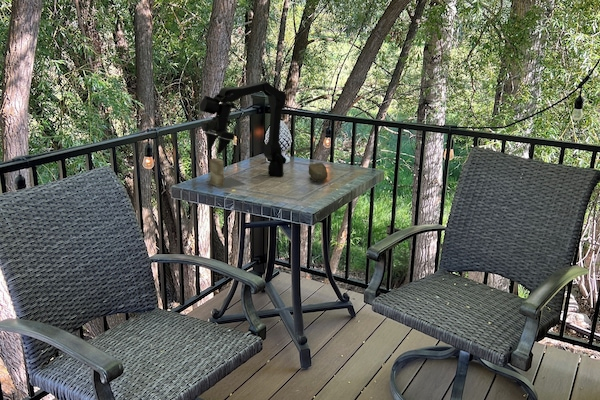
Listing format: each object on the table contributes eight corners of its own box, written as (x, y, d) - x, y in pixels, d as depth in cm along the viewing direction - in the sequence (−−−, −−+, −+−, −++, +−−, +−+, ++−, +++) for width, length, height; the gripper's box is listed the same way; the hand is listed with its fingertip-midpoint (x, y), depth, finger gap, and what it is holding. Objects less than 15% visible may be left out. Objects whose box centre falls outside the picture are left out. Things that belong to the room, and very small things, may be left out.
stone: (306, 175, 275) (306, 159, 272) (324, 175, 275) (325, 158, 273) (310, 185, 259) (310, 168, 256) (330, 185, 259) (330, 167, 257)
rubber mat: (231, 178, 269) (230, 177, 269) (245, 185, 258) (245, 184, 258) (205, 182, 262) (205, 181, 262) (219, 189, 251) (219, 188, 251)
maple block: (217, 182, 261) (217, 158, 257) (224, 185, 256) (223, 160, 253) (210, 183, 259) (209, 159, 255) (217, 186, 254) (216, 161, 251)
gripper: (196, 109, 253) (187, 144, 254) (215, 115, 238) (206, 152, 240) (218, 115, 259) (210, 149, 261) (238, 121, 245) (229, 157, 247)
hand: (213, 151), depth 252 cm, fingers open, 9 cm apart
